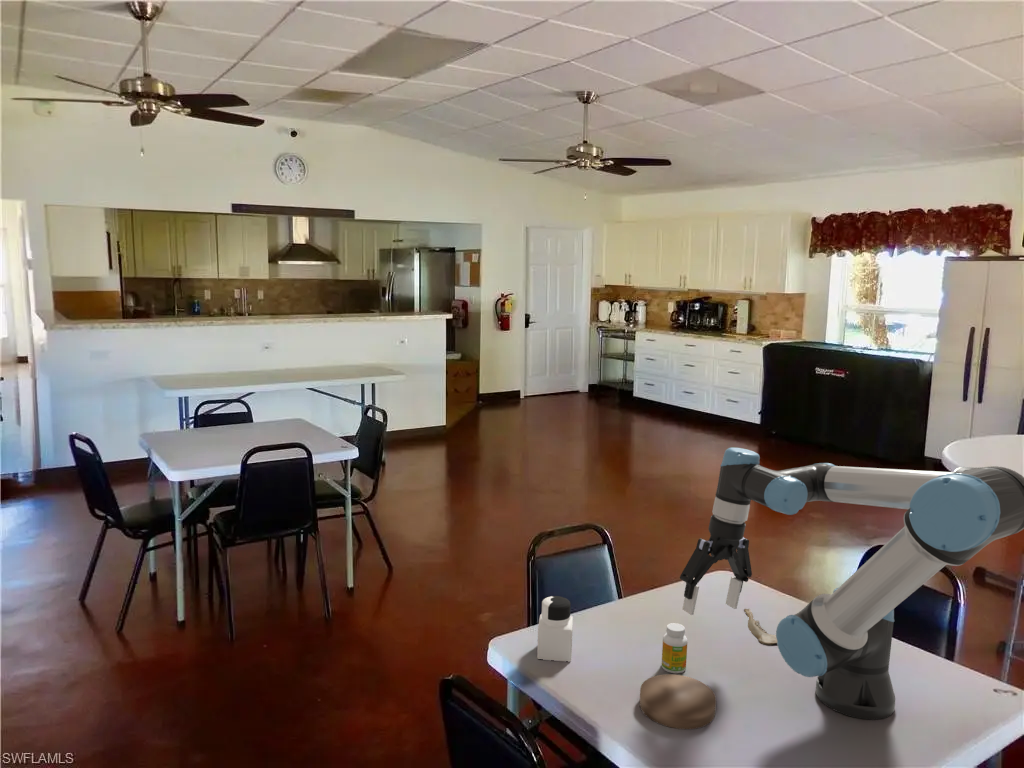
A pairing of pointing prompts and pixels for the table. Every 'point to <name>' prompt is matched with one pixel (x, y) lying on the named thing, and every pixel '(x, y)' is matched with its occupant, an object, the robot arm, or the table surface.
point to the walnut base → (677, 701)
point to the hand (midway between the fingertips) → (709, 609)
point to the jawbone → (759, 630)
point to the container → (555, 630)
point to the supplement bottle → (674, 649)
